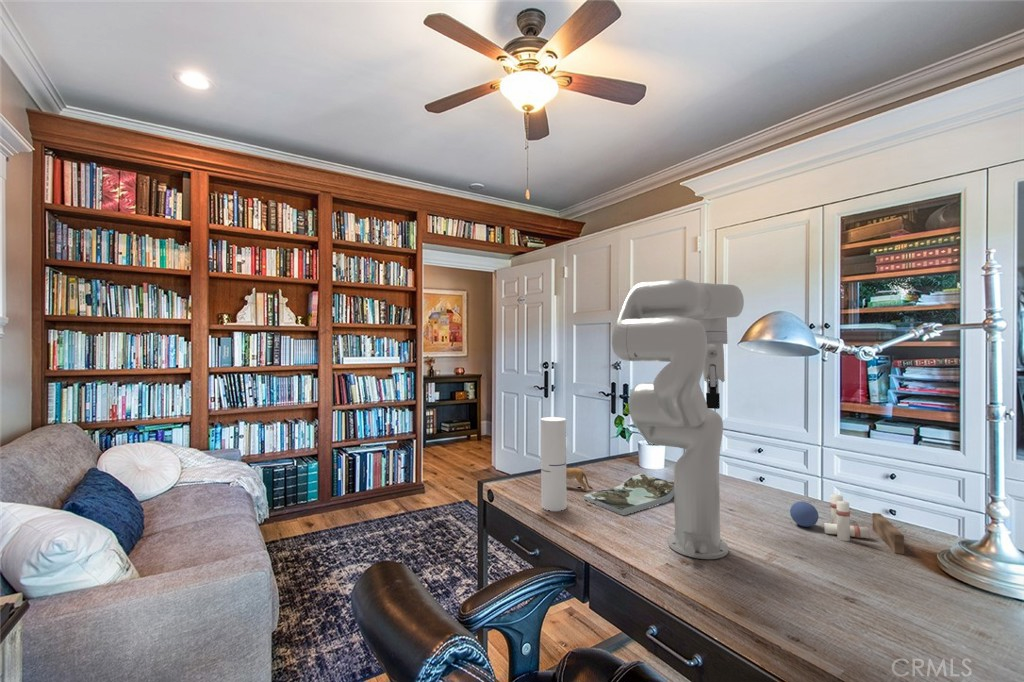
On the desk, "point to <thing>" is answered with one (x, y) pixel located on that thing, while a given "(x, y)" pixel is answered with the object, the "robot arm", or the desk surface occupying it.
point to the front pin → (854, 530)
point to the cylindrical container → (553, 463)
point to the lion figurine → (577, 476)
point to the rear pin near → (843, 521)
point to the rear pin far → (834, 507)
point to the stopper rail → (888, 533)
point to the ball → (804, 514)
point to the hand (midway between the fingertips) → (712, 408)
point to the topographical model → (634, 494)
